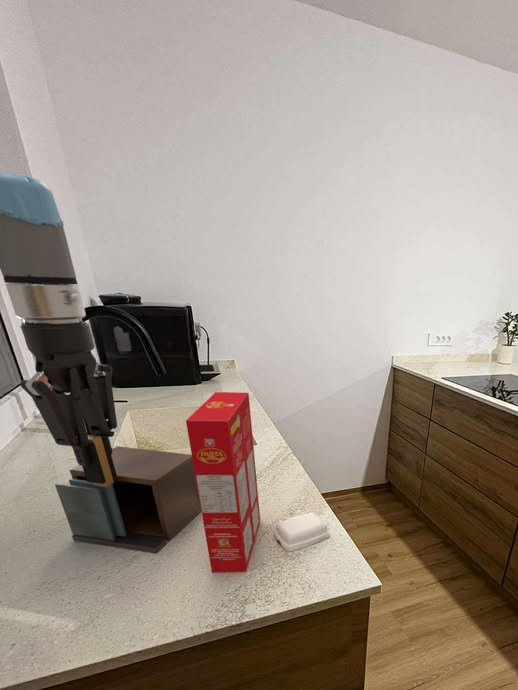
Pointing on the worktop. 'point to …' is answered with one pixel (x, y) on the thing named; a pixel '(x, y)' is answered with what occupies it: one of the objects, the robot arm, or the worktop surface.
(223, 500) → the food packaging
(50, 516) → the worktop surface
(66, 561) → the worktop surface
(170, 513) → the cabinet
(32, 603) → the worktop surface
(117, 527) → the grey door panel
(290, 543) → the soap
